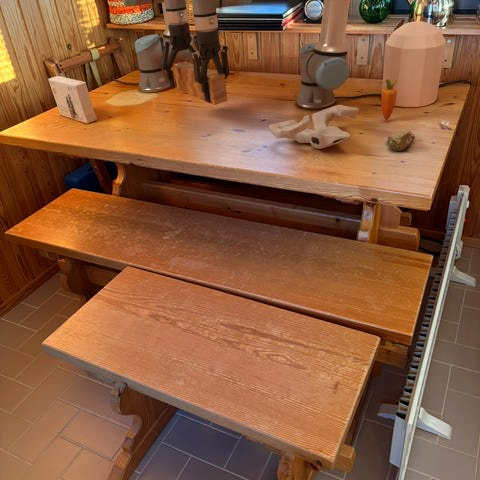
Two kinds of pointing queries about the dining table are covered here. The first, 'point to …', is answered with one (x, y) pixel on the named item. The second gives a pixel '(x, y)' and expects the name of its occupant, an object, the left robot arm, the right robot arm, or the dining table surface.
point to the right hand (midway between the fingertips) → (215, 99)
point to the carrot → (388, 99)
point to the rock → (400, 140)
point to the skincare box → (72, 99)
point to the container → (414, 63)
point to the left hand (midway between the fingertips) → (187, 83)
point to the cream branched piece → (316, 128)
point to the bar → (188, 84)
